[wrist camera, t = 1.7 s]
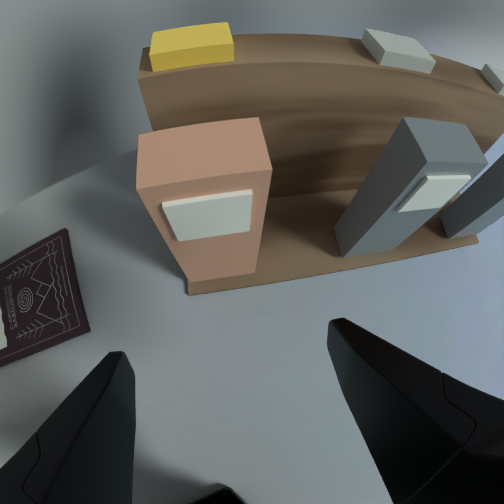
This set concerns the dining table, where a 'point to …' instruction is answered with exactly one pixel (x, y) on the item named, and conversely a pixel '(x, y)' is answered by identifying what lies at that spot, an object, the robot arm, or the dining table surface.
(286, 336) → the dining table surface
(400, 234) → the middle slate key
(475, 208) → the key
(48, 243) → the chocolate bar
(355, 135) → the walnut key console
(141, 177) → the terracotta key
